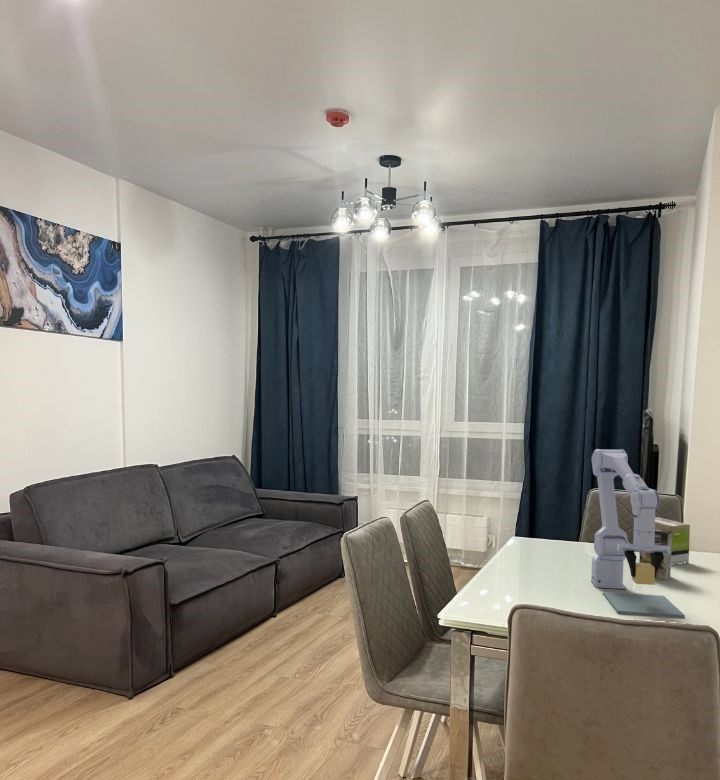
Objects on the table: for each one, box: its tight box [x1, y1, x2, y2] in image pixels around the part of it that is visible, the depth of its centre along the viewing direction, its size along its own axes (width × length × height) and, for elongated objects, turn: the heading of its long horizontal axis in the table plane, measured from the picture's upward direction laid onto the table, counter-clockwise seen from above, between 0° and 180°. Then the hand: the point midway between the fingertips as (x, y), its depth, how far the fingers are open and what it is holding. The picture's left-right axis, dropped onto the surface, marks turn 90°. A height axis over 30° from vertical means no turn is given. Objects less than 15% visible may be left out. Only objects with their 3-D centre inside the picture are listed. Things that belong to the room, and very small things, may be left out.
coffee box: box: [638, 528, 672, 581], centre depth 229 cm, size 9×6×16 cm
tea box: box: [638, 516, 691, 565], centre depth 253 cm, size 15×10×15 cm, turn 25°
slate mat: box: [602, 591, 686, 619], centre depth 196 cm, size 18×18×1 cm
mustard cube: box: [631, 562, 656, 586], centre depth 196 cm, size 5×5×5 cm
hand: (643, 576), depth 196 cm, fingers closed on mustard cube, 5 cm apart
